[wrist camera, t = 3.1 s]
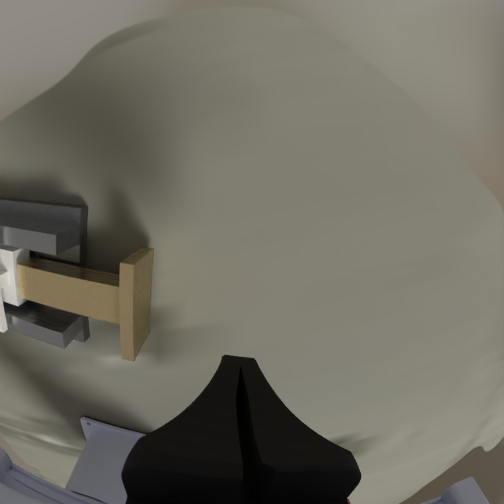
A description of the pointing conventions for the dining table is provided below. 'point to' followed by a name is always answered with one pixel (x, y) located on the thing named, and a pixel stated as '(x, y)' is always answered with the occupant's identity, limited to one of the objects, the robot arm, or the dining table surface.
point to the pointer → (10, 278)
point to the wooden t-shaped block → (96, 293)
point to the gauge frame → (49, 248)
